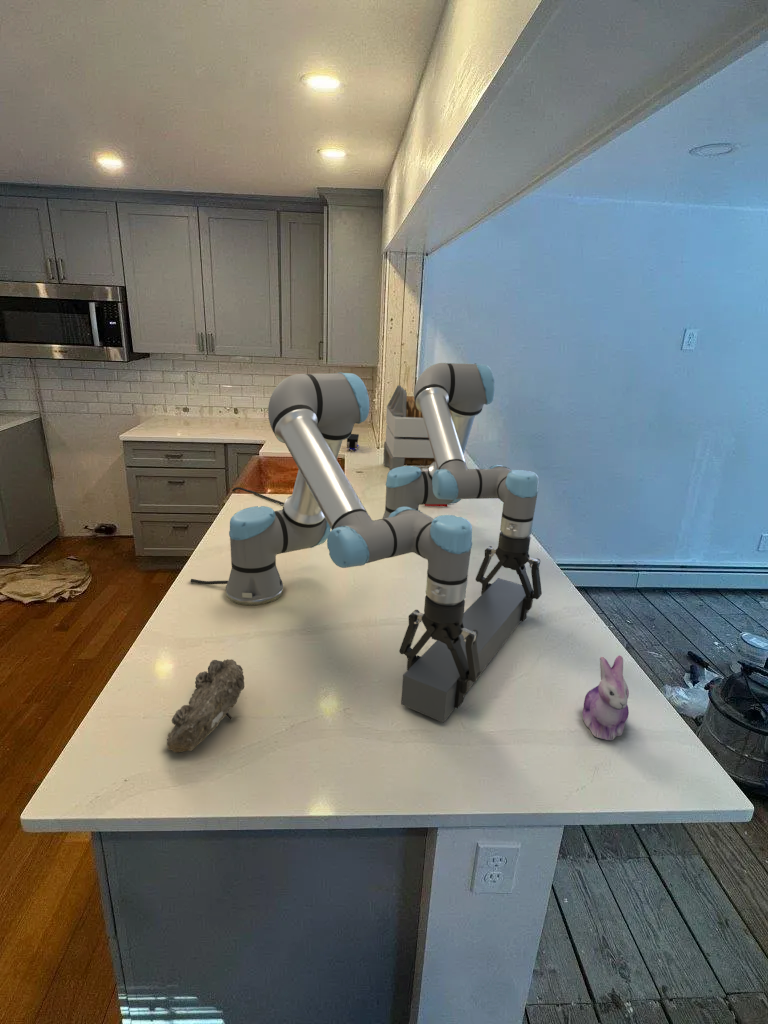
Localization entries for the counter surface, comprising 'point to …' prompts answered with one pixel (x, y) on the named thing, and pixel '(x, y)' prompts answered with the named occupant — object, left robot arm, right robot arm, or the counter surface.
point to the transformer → (405, 433)
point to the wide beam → (436, 671)
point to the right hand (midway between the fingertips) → (504, 613)
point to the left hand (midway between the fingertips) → (435, 694)
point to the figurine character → (352, 441)
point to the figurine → (607, 702)
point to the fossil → (206, 705)
